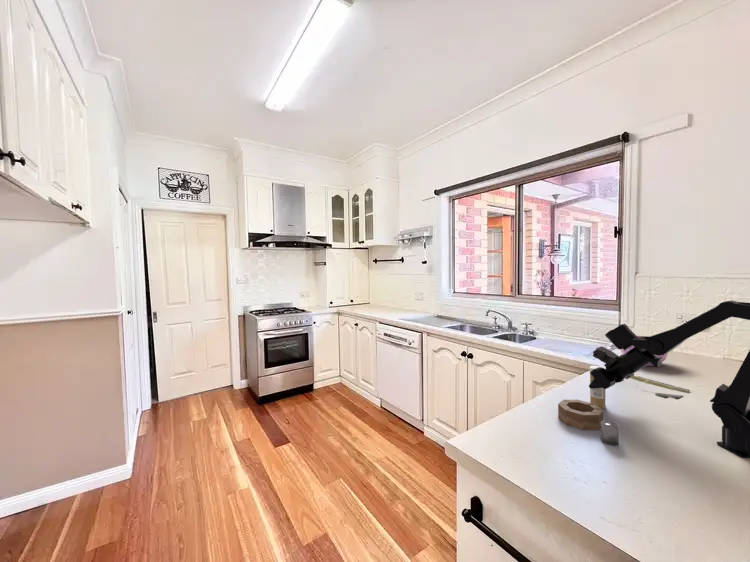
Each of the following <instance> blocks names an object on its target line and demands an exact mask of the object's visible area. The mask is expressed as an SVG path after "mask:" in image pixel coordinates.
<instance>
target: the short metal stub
mask: <svg viewBox="0 0 750 562" xmlns="http://www.w3.org/2000/svg"><path fill="white" fill-rule="evenodd" d="M619 428H620V426H619V424H618V423H616V422H614V421H610V420H603V421H601V428H600V442H601V443H603V444H605V445H608V446H610V447H618V446H619V444H620V441H619V439H620V438H619V437H620V436H619V435H620V429H619Z"/></svg>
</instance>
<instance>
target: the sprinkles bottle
mask: <svg viewBox="0 0 750 562" xmlns="http://www.w3.org/2000/svg"><path fill="white" fill-rule="evenodd" d="M598 367H601V368H604V369H605V370H606V367H605V366H604V367H603V366H599V365H591V366H589V376H590V377H589V384H590V383H591V382H592V381H593V380H594V377H593V376H592V375H591V373H590V372H591V371H592V370H594V369H596V368H598ZM606 394H607V393H606V389H604V388H594V389H591V388H590V387H589V396H590V397H589V400H590V401H589V403H593V404H595V405H597V406H598V407H600V408H601V409H605V408H606V398H607V397H606Z"/></svg>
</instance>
